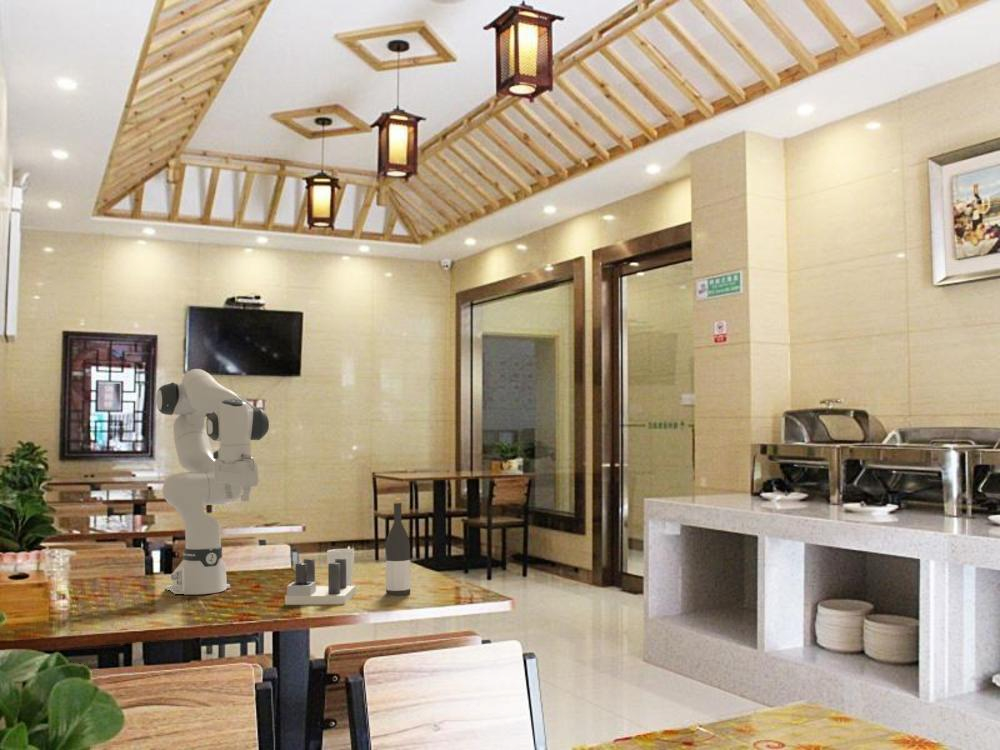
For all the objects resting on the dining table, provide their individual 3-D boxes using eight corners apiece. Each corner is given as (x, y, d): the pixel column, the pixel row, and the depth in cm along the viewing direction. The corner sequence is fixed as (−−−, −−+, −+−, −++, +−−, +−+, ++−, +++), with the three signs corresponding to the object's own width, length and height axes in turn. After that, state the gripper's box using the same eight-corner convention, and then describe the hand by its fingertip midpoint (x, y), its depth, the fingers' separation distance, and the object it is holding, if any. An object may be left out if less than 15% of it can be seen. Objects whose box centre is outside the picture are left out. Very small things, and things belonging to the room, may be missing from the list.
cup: (348, 589, 300) (348, 552, 301) (322, 588, 302) (322, 551, 303) (358, 584, 309) (358, 548, 310) (332, 584, 311) (332, 548, 312)
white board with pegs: (285, 604, 274) (285, 566, 275) (299, 594, 292) (299, 557, 293) (344, 604, 274) (344, 565, 275) (355, 593, 292) (355, 557, 292)
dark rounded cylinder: (293, 593, 278) (293, 563, 279) (303, 592, 281) (303, 562, 281) (299, 595, 276) (299, 565, 276) (309, 593, 278) (309, 563, 279)
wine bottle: (406, 596, 286) (405, 499, 288) (381, 595, 288) (381, 499, 290) (414, 591, 294) (413, 497, 296) (390, 591, 296) (389, 497, 298)
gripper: (263, 454, 269) (264, 501, 269) (228, 451, 284) (230, 495, 284) (243, 456, 265) (245, 504, 265) (209, 453, 279) (211, 498, 279)
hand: (237, 499), depth 275 cm, fingers open, 8 cm apart
